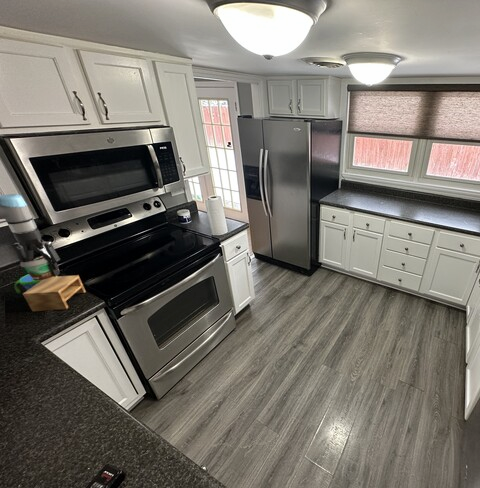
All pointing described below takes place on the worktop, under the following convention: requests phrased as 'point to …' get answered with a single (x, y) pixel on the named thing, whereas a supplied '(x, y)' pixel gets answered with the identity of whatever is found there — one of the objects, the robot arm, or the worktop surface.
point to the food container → (38, 268)
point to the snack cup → (27, 282)
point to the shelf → (53, 293)
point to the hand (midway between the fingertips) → (48, 275)
